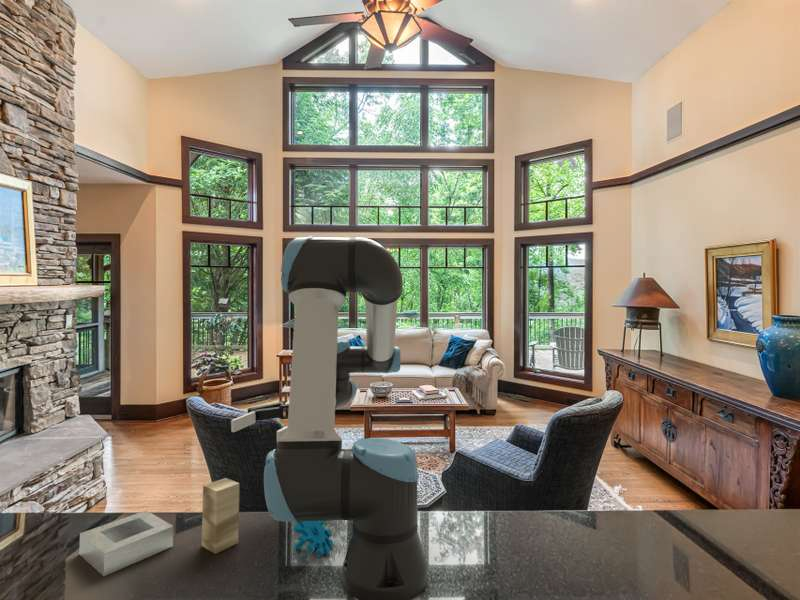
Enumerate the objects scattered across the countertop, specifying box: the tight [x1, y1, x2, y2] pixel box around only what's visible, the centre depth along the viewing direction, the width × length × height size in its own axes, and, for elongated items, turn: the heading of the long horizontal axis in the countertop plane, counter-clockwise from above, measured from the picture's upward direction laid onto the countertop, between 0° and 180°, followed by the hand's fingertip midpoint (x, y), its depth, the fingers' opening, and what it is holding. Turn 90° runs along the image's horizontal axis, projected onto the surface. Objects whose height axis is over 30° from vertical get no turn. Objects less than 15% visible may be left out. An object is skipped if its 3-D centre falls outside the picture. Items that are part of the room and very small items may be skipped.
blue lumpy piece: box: [293, 521, 334, 557], centre depth 83 cm, size 11×6×10 cm
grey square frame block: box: [78, 510, 174, 577], centre depth 82 cm, size 12×12×4 cm
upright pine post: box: [201, 477, 240, 555], centre depth 84 cm, size 5×5×12 cm
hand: (254, 431), depth 91 cm, fingers open, 13 cm apart
